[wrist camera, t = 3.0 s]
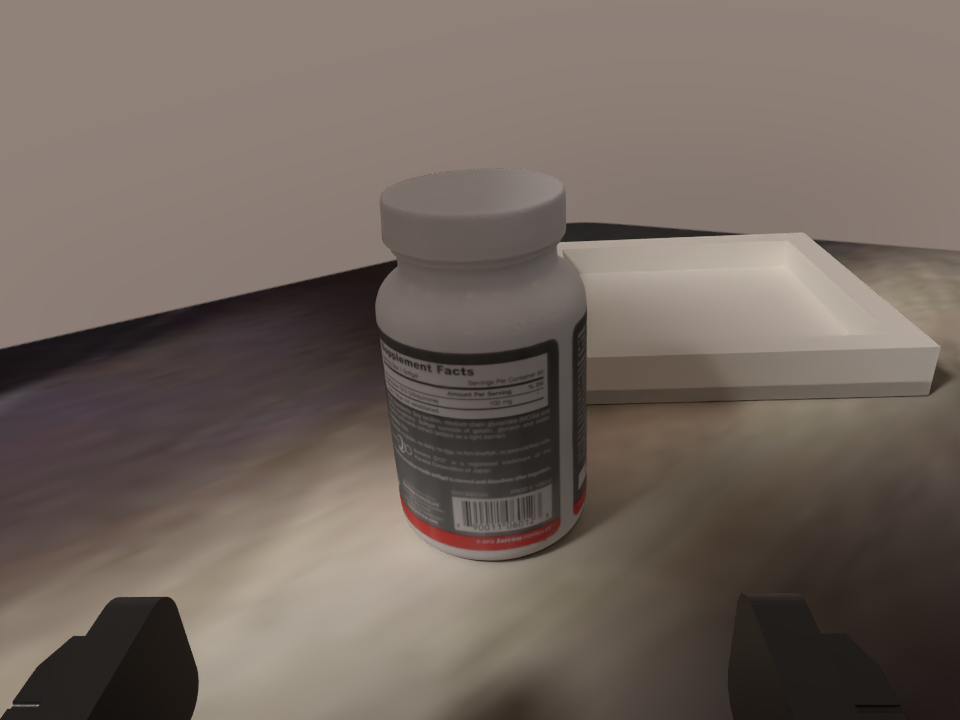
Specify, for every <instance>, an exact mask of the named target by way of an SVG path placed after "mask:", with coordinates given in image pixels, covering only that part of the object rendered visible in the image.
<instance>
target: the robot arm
mask: <svg viewBox="0 0 960 720" xmlns="http://www.w3.org/2000/svg"><path fill="white" fill-rule="evenodd" d="M198 685H199V680H198V671H197V667H196V664H195V660H194V657H193V654H192V651H191V648H190V645H189V642H188V639H187V636H186V633H185V630H184V627H183V624H182V621H181V618H180V615H179V612H178V609H177V606H176V604H175V602H174V600H172V599H171V598H169V597H118V598H114V599H113V600H111V601H110V602H109V603H108V604H107V605H106V606H105V608H104V609H103V611H102V612H101V614H100V615H99V616H98V618H97V619H96V621H95V622H94V624H93V625H92V627H91V628H90V630H89V631H88V633H87V634H86V636H73V637H72V638H70V639H69V640H68V641H67V642H66V643H65V644H63V645H62V646H61V647H60V648H59V649H57V650H56V651H55V652H54V653H53V654H52V655H50V656H49V657H48V658H47V659H46V660H45V661H43V662H42V663H41V664H40V665H39V666H38V667H37V668H36V669H35V671H34V672H33V674H32V675H31V676H30V678H29V679H28V681H27V682H26V683H25V685H24V686H23V688H22V689H21V691H20V692H19V693H18V695H17V696H16V698H15V699H14V700H13V706H12V708H11V709H7V710H6V712H5V713H4V714H3V716H2V717H1V719H0V720H191V717H192V715H193V712H194V709H195V706H196V701H197V696H198ZM728 690H729V698H730V705H731V710H732V715H733V719H734V720H908V718H907V716H906V715H905V713H902V712H901V709H900V704H899V702H898V700H897V698H896V696H895V694H894V692H893V691H892V689H891V687H890V685H889V683H888V681H887V679H886V678H885V676H884V674H883V672H882V670H881V668H880V666H879V665H878V664H876V663H875V662H874V661H873V660H872V659H871V658H870V657H869V656H868V655H867V654H866V653H865V652H864V651H863V650H862V649H861V648H860V647H859V646H858V645H857V644H856V643H855V642H854V641H853V640H851V639H850V638H849V637H848V636H847V635H846V634H820V631H819V629H818V627H817V625H816V623H815V621H814V619H813V617H812V615H811V612H810V610H809V608H808V606H807V604H806V602H805V600H804V599H803V598H802V596H801V595H800V594H798V593H752V594H741V595H740V596H739V599H738V603H737V609H736V616H735V624H734V631H733V638H732V646H731V653H730V660H729V668H728Z"/></svg>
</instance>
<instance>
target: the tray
mask: <svg viewBox="0 0 960 720" xmlns="http://www.w3.org/2000/svg"><path fill="white" fill-rule="evenodd" d="M557 255H558V256H560V257H562V258H563V259H565V260H566V261H567V262H569V263H570V264H571V265H572V266H573V267H574V268H575V270H576V271H577V272H578V274H579V276H580V277H581V279H582V281H583V284H584V287H585V292H586V303H587V382H586V404H623V403H661V402H698V401H736V400H774V399H811V398H849V397H886V396H924V395H929V392H930V388H931V384H932V380H933V376H934V372H935V368H936V364H937V360H938V356H939V352H940V348H941V347H940V346H939V345H938V344H937V343H936V342H934V341H933V340H932V339H931V338H930V337H928V336H927V335H926V334H925V333H924V332H922V331H921V330H920V329H919V328H918V327H916V326H915V325H914V324H913V323H912V322H910V321H909V320H908V319H907V318H906V317H904V316H903V315H902V314H901V313H900V312H898V311H897V310H896V309H895V308H893V307H892V306H891V305H890V304H889V303H887V302H886V301H885V300H884V299H883V298H881V297H880V296H879V295H878V294H877V293H875V292H874V291H873V290H872V289H871V288H869V287H868V286H867V285H866V284H865V283H863V282H862V281H861V280H860V279H859V278H857V277H856V276H855V275H854V274H853V273H851V272H850V271H849V270H848V269H847V268H845V267H844V266H843V265H842V264H841V263H839V262H838V261H837V260H836V259H835V258H833V257H832V256H831V255H830V254H829V253H827V252H826V251H825V250H824V249H823V248H821V247H820V246H819V245H818V244H817V243H815V242H814V241H813V240H812V239H811V238H809V237H808V236H807V235H806V234H804V233H780V234H756V235H731V236H707V237H682V238H658V239H634V240H609V241H585V242H560V243H559V244H558V245H557Z"/></svg>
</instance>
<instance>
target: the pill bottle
mask: <svg viewBox="0 0 960 720" xmlns="http://www.w3.org/2000/svg"><path fill="white" fill-rule="evenodd" d="M565 200H566V198H565V187H564V185H563V183H562V182H561V181H560V180H558V179H557V178H555V177H553V176H550V175H547V174H543V173H539V172H534V171H529V170H520V169H467V170H455V171H446V172H440V173H434V174H429V175H424V176H419V177H415V178H411V179H407V180H404V181H401V182H398V183H396V184H394V185H392V186H390V187H388V188H387V189H386V190H385V191H384V192H382V194H381V196H380V210H381V225H382V240H383V242H384V244H385V245H386V246H387V247H388V248H389V249H391V251H392V253H393V254H394V255H395V256H397V264H398V267H396V268H395V269H394V270H393V271H392V272H391V273H390V274H389V275H388V276H387V277H386V279H385V280H384V281H383V283H382V285H381V286H380V289H379V291H378V294H377V298H376V303H375V310H376V323H377V332H378V338H379V346H380V353H381V360H382V367H383V375H384V381H385V389H386V396H387V403H388V410H389V417H390V425H391V432H392V440H393V447H394V455H395V461H396V467H397V475H398V482H399V491H400V498H401V503H402V507H403V511H404V514H405V517H406V519H407V521H408V523H409V524H410V526H411V528H412V529H413V530H414V531H415V533H416V534H417V535H418V536H419V537H421V538H422V539H423V540H424V541H425V542H427V543H428V544H430V545H431V546H433V547H435V548H437V549H439V550H441V551H443V552H445V553H448V554H451V555H454V556H458V557H462V558H467V559H474V560H506V559H512V558H517V557H522V556H525V555H528V554H532V553H534V552H537V551H539V550H542V549H544V548H545V547H547V546H549V545H551V544H553V543H554V542H556V541H557V540H559V539H560V538H562V537H563V536H564V535H565V534H566V533H567V532H568V531H569V530H570V529H571V528H572V527H573V526H574V524H575V523H576V522H577V520H578V518H579V517H580V515H581V512H582V510H583V507H584V503H585V497H586V382H587V303H586V292H585V287H584V284H583V281H582V279H581V277H580V276H579V274H578V272H577V271H576V270H575V268H574V267H573V266H572V265H571V264H570V263H569V262H567V261H566V260H565V259H563V258H562V257H560V256H558V255H557V245H558V244H559V242H560V240H561V238H562V237H563V235H564V234H565V231H566V201H565Z"/></svg>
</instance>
